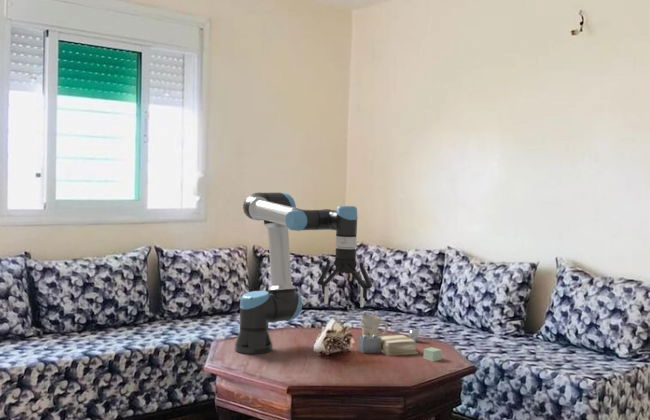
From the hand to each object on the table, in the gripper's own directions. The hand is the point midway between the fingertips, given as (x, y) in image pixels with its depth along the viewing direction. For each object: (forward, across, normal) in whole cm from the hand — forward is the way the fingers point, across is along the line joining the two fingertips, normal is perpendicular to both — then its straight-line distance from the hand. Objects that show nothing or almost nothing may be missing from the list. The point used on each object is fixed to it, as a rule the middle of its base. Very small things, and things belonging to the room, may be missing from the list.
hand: (344, 305), depth 244 cm
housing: (+24, +4, +31) cm, 40 cm away
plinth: (+24, +14, +36) cm, 45 cm away
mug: (+25, +2, +52) cm, 57 cm away
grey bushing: (+24, +19, +55) cm, 63 cm away
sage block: (+24, +30, +29) cm, 48 cm away
